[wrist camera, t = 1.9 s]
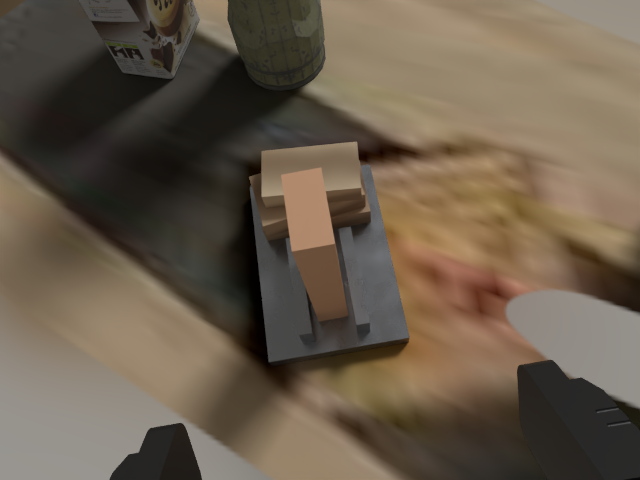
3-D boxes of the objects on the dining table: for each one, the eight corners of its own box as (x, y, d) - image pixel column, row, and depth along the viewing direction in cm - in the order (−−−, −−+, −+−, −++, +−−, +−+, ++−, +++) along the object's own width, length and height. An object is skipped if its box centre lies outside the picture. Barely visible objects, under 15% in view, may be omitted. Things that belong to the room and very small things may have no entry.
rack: (408, 342, 41) (411, 329, 37) (272, 366, 41) (262, 355, 38) (369, 173, 48) (369, 148, 44) (253, 194, 48) (243, 171, 44)
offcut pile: (372, 228, 44) (371, 195, 38) (264, 248, 44) (249, 217, 39) (359, 170, 46) (357, 131, 41) (257, 189, 46) (242, 152, 41)
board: (348, 316, 41) (334, 243, 28) (318, 321, 41) (291, 251, 28) (338, 258, 43) (321, 167, 30) (309, 263, 43) (280, 174, 30)
